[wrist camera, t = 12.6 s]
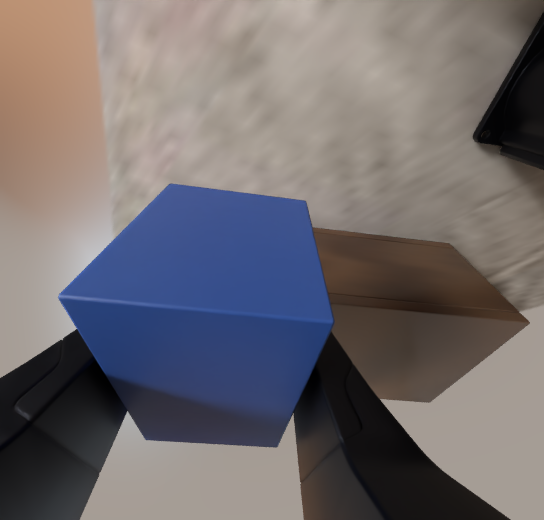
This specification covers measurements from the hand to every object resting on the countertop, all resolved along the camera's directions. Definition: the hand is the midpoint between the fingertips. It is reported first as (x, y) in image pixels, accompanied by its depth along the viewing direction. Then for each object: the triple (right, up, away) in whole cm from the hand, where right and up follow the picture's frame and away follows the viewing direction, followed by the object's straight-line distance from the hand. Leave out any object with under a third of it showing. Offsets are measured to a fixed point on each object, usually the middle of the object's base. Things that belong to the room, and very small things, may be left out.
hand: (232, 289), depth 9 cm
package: (0, +1, +1) cm, 1 cm away
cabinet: (+9, -1, +15) cm, 18 cm away
